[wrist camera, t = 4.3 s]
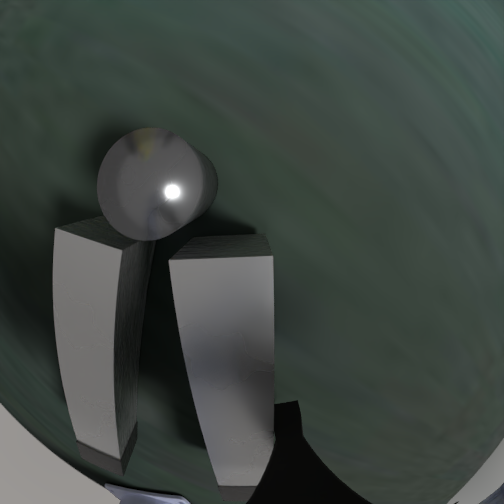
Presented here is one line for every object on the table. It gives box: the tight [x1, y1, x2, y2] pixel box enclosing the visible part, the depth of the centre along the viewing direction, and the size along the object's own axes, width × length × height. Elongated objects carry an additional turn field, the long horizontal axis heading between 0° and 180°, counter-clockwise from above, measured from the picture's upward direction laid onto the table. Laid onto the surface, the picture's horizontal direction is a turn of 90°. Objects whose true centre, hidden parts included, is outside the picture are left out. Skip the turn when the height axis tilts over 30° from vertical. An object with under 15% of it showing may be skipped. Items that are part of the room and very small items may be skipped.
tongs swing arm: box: [169, 234, 274, 501], centre depth 9 cm, size 13×2×3 cm, turn 2°
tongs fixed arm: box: [53, 128, 218, 476], centre depth 9 cm, size 16×4×3 cm, turn 164°
